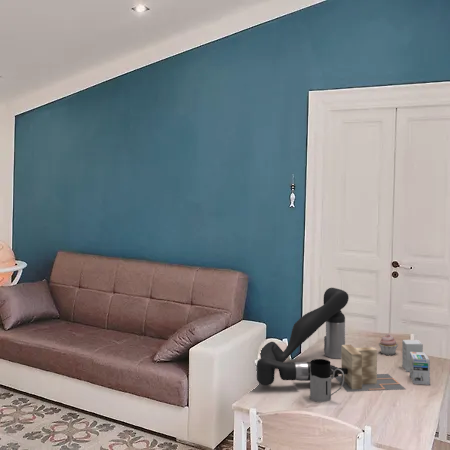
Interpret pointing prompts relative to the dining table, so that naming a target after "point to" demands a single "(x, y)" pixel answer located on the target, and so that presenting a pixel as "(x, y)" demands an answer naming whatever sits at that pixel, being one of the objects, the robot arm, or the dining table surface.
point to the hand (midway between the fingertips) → (347, 370)
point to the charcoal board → (382, 384)
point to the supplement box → (407, 348)
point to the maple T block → (359, 365)
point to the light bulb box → (419, 368)
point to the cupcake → (388, 345)
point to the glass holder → (321, 380)
